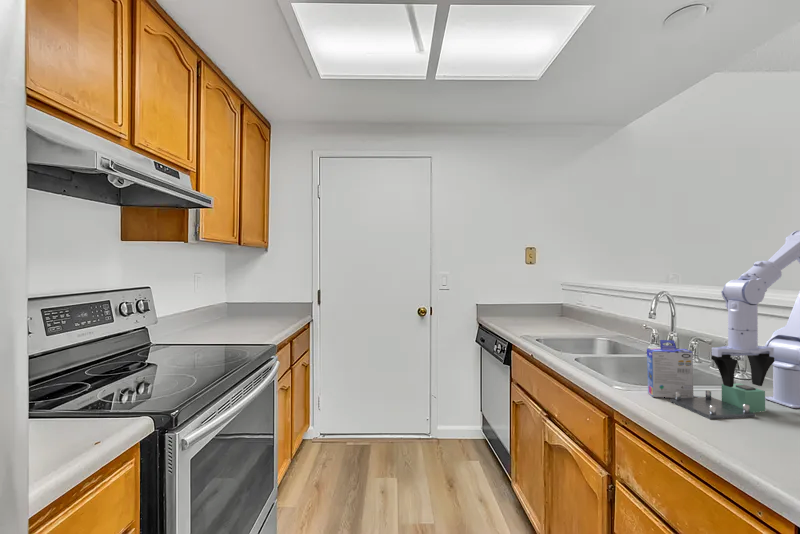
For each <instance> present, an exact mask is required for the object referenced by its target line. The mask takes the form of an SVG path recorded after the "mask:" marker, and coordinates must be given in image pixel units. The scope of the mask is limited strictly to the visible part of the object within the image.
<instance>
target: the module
mask: <svg viewBox="0 0 800 534" xmlns="http://www.w3.org/2000/svg"><path fill="white" fill-rule="evenodd" d="M765 397H766V391H765V390H762V389H760V388H756V387H753V386H750V385H747V384H743V383H737V382H736V383H735V382H734V384H733V387H728V386H725V385H724V384H723V383H721V401H723V402H726V403H729V404H731V405H734V406H737V407H739V408H742V409H743V404H749V411H750V412H753V413H763V412H762V411H765V412H766V399H765ZM760 411H761V412H760Z"/></svg>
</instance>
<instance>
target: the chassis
mask: <svg viewBox="0 0 800 534" xmlns="http://www.w3.org/2000/svg"><path fill="white" fill-rule="evenodd" d="M670 401H671V402H670V403H672V402H673V403H672V404H674V403H675V404H674V405H677V406H679V407H682V408H683V409H686V410H688V411H691V412H693V413H695V414H697V415H699V416H702V417H704V418H707V419H708V420H718V419H719V420H721V419H722V420H723V419H724V420H725V419H741V418H756V412H750V411H749V404H743V409H742V408H739V407H737V406H734V405H731V404H729V403H726V402H723V401H722V399H721V400H720V399H717V398H715V397H712V391H711V390H705V396H702V397H701V396H700V397H693V398H681V392H675V398H670Z"/></svg>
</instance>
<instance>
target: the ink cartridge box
mask: <svg viewBox="0 0 800 534" xmlns="http://www.w3.org/2000/svg"><path fill="white" fill-rule="evenodd" d="M667 343H668V344H672V345H665V344H667ZM659 344H660V348H646V365H647V367H646V369H647V393H648V394H649V395H650V396H651V397H652V398H664V397H665V398H668V399H669V398H670V399H673V398H675V392H681V398H694V353H693V351H691V350H688V349H687V348H677V345H676V342H675V340H674V339H673V340H672V339H671V340H670V339H668V340H667V339H660V340H659Z"/></svg>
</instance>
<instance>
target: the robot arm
mask: <svg viewBox="0 0 800 534" xmlns="http://www.w3.org/2000/svg"><path fill="white" fill-rule="evenodd" d="M784 241H785V243H784V244H783V245H782V246H781V247H780V248H779V249H778V250H777V251H776V252H775V253H774V254H773V255H772V256H771V257H770V258H769V259H768V260H758V261H757V260H756V261H755V262H754V263H753V266H751V267H750V268H749V269H748V270H747V271H745V272H744V273H742V274H740V275H739V277H738V278H737V279H731V280H729V281H728V282H726V283H725V284H724V286H723V288H722V290H721V291H720V292H721V296H722V298H723V301H724V302H725V307H726V309H727V345H724V346H717V347H711V359H712V360H713V362H714V364H715V365H716V367H717V369H718V371H719V374H720V377H721V379H722V380H721V381H722V384H724V385H725V386H728V387H733V384H735V381H734V380H735V372H736V371H735V370H736V368H737V367H736V366H737V364H738V362H739V360H738V359H735V358H733V357H736V356H737V357H739V356H746V357H747V360H748V362H749V365H750V377H751V383H752V385H755V386H758V387H763V384H764V381H765V378H766V375H767V373H768V371H769V369H770V367H771V366H772V385H773V386H772V389H773V392H772V396H765V400H768V401H771V402H773V403H777V404H780V405H783V406H785V407H788V408H793V409H800V290H799V291H798V294H797V296H796V299H795V302H794V304H793V307H792V309H791V312H790V315H789V317H788V319H787V322H786V325H784V326H782V327H781V328H778V329H776V330H774V331H773V333H772V335H771V337H770V338H769V339H768V340H766V342H765V344H764V345H758V343H759V341H758V340H759V339H758V338H759V337H758V333H759V332H758V331H759V330H758V327H759V326H758V324H759V323H758V319H759V318H758V316H759V315H758V311H759V310H758V309H759V308H758V306H759V305H758V304H759V303H762V301H763V300H764V298H765V296H766V295H765V294H766V292H767V291H768V288H770V287H771V286H772V285H773V284H774V283H776V282H777V281H778V280H779V279H781V277H782V273H783V272H782V270H783V269H785V268H787V267H789V265H791V264H792V263H794V262H795V261H797V262H798V263H799V264H800V230H794V231H792V232H791V233H790V234H789V235H787V236H786V237H785V240H784Z"/></svg>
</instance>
